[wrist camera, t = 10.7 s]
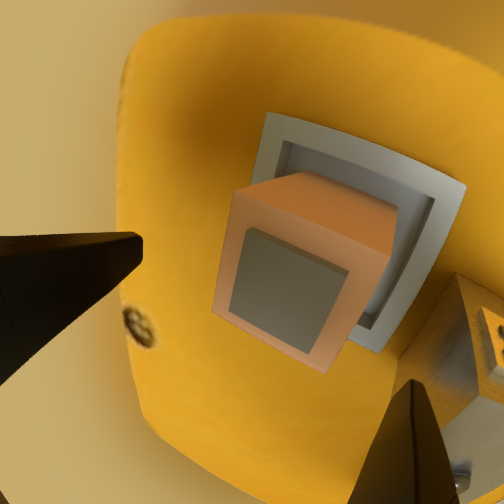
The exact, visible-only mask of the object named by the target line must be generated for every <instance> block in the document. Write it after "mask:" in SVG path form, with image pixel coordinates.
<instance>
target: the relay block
mask: <svg viewBox="0 0 504 504" xmlns="http://www.w3.org/2000/svg"><path fill="white" fill-rule="evenodd" d="M397 214H398V206H396V205H393V204H391V203H389V202H387V201H384V200H382V199H380V198H378V197H375V196H373V195H371V194H368V193H366V192H363V191H361V190H359V189H356V188H354V187H351V186H349V185H346V184H344V183H341V182H339V181H336V180H333V179H331V178H328V177H325V176H323V175H320V174H317V173H315V172H312V171H309V170H307V171H303V172H299V173H295V174H291V175H288V176H284V177H280V178H276V179H272V180H269V181H265V182H261V183H258V184H254V185H251V186H247V187H244V188H240V189H237V190H234V193H233V198H232V203H231V208H230V213H229V218H228V223H227V229H226V234H225V239H224V245H223V250H222V255H221V261H220V266H219V272H218V278H217V283H216V289H215V295H214V301H213V307H212V312H213V313H215V314H216V315H218V316H220V317H221V318H223V319H225V320H226V321H228V322H230V323H231V324H233V325H235V326H236V327H238V328H240V329H242V330H243V331H245V332H247V333H249V334H250V335H252V336H254V337H256V338H257V339H259V340H261V341H263V342H264V343H266V344H268V345H270V346H272V347H273V348H275V349H277V350H279V351H281V352H283V353H285V354H286V355H288V356H290V357H292V358H294V359H296V360H298V361H300V362H302V363H303V364H305V365H307V366H309V367H311V368H313V369H315V370H317V371H319V372H321V373H323V374H326V373H327V371H328V370H329V368H330V367H331V365H332V363H333V362H334V360H335V359H336V357H337V356H338V354H339V352H340V351H341V349H342V347H343V346H344V344H345V342H346V341H347V339H348V337H349V336H350V334H351V332H352V331H353V329H354V327H355V325H356V324H357V322H358V320H359V318H360V316H361V315H362V313H363V311H364V309H365V307H366V305H367V304H368V302H369V300H370V298H371V296H372V294H373V292H374V290H375V288H376V286H377V284H378V282H379V280H380V278H381V276H382V274H383V272H384V270H385V268H386V266H387V264H388V262H389V260H390V258H391V253H392V247H393V241H394V235H395V228H396V222H397Z"/></svg>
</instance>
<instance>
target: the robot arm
mask: <svg viewBox="0 0 504 504" xmlns="http://www.w3.org/2000/svg"><path fill="white" fill-rule="evenodd" d="M142 259H143V238H142V237H141V236H140V235H138V234H137V233H135V232H102V233H73V234H50V235H38V236H37V235H27V236H0V386H1V385H2V384H3V383H4V382H5V381H6V380H7V379H8V378H9V377H11V376H12V375H13V374H14V373H15V372H16V371H17V370H18V369H19V368H20V367H21V366H22V365H24V364H25V363H26V362H27V361H28V360H29V358H31V357H32V356H33V355H35V354H36V353H37V352H38V351H39V350H40V349H41V348H42V347H44V346H45V345H46V344H47V343H48V342H49V341H51V340H52V339H53V338H54V337H55V336H57V335H58V334H59V333H60V332H61V331H62V330H64V329H65V328H66V327H67V326H68V325H70V324H71V323H72V322H73V321H74V320H76V319H77V318H78V317H79V316H81V315H82V314H83V313H84V312H85V311H87V310H88V309H89V308H90V307H92V306H93V305H94V304H95V303H97V302H98V301H99V300H100V299H102V298H103V297H104V296H106V295H107V294H108V293H109V292H110V291H112V290H113V289H114V288H115V287H116V286H117V285H118V284H119V283H120V282H121V281H122V280H123V279H124V278H126V277H127V276H128V275H129V274H130V273H131V272H132V271H133V270H134V269H135V268H136V267H137V266H139V265H140V263H141V262H142ZM456 492H457V488H456V484H455V480H454V476H453V472H452V468H451V464H450V461H449V457H448V454H447V450H446V447H445V444H444V440H443V437H442V434H441V431H440V428H439V425H438V422H437V419H436V416H435V413H434V411H433V408H432V405H431V402H430V400H429V397H428V394H427V392H426V389H425V386H424V384H423V383H421V382H419V381H417V380H414V379H409V380H408V381H407V382H406V383H405V384H404V385H403V386H402V387H401V388H400V390H399V391H398V392H397V393H396V394H395V395H394V396H393V398H392V399H391V401H390V403H389V405H388V408H387V410H386V413H385V415H384V418H383V420H382V422H381V425H380V427H379V429H378V431H377V434H376V436H375V438H374V440H373V442H372V445H371V447H370V449H369V452H368V454H367V457H366V460H365V462H364V465H363V467H362V470H361V473H360V475H359V478H358V480H357V482H356V485H355V487H354V489H353V492H352V494H351V496H350V498H349V501H348V503H347V504H460V501H459V497H458V493H456ZM0 504H9V503H8V501H7V500H6V498H5V497H4V495H3V494H2V492H1V491H0Z"/></svg>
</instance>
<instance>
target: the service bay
mask: <svg viewBox="0 0 504 504" xmlns="http://www.w3.org/2000/svg"><path fill="white" fill-rule="evenodd" d="M307 170H309V171H312V172H315V173H317V174H320V175H323V176H325V177H328V178H331V179H333V180H336V181H339V182H341V183H344V184H346V185H349V186H351V187H354V188H356V189H359V190H361V191H363V192H366V193H368V194H371V195H373V196H375V197H378V198H380V199H382V200H384V201H387V202H389V203H391V204H393V205H396V206H398V214H397V222H396V228H395V235H394V241H393V247H392V253H391V258H390V260H389V262H388V264H387V266H386V268H385V270H384V272H383V274H382V276H381V278H380V280H379V282H378V284H377V286H376V288H375V290H374V292H373V294H372V296H371V298H370V300H369V302H368V304H367V305H366V307H365V309H364V311H363V313H362V315H361V316H360V318H359V320H358V322H357V324H356V325H355V327H354V329H353V331H352V332H351V334H350V336H349V337H348V339H349V340H351V341H353V342H355V343H357V344H359V345H361V346H363V347H365V348H367V349H369V350H371V351H373V352H376V353H378V354H379V353H380V352H381V350H382V349H383V348H384V346H385V345H386V343H387V342H388V340H389V339H390V337H391V336H392V334H393V333H394V331H395V330H396V328H397V327H398V325H399V324H400V322H401V320H402V319H403V317H404V316H405V314H406V312H407V311H408V309H409V307H410V306H411V304H412V302H413V301H414V299H415V297H416V296H417V294H418V292H419V290H420V289H421V287H422V285H423V283H424V281H425V279H426V278H427V276H428V274H429V272H430V270H431V268H432V266H433V264H434V262H435V260H436V258H437V256H438V254H439V252H440V250H441V248H442V246H443V244H444V242H445V240H446V237H447V235H448V233H449V231H450V228H451V226H452V224H453V221H454V219H455V217H456V214H457V212H458V209H459V207H460V204H461V202H462V199H463V196H464V194H465V191H466V188H467V186H466V185H465V184H463V183H462V182H460V181H458V180H456V179H455V178H453V177H451V176H449V175H447V174H445V173H443V172H441V171H439V170H437V169H434V168H432V167H430V166H428V165H426V164H424V163H422V162H419V161H417V160H415V159H413V158H410V157H408V156H406V155H403V154H401V153H399V152H396V151H394V150H391V149H389V148H386V147H384V146H381V145H379V144H376V143H373V142H371V141H368V140H365V139H362V138H360V137H357V136H354V135H351V134H348V133H345V132H342V131H339V130H336V129H333V128H330V127H326V126H323V125H320V124H316V123H313V122H309V121H306V120H302V119H298V118H295V117H291V116H287V115H283V114H278V113H273V112H268V111H267V114H266V118H265V122H264V126H263V131H262V135H261V139H260V144H259V148H258V153H257V157H256V161H255V166H254V170H253V175H252V179H251V184H250V186H251V185H254V184H258V183H261V182H265V181H269V180H272V179H276V178H280V177H284V176H288V175H291V174H295V173H299V172H303V171H307Z"/></svg>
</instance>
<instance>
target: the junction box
mask: <svg viewBox="0 0 504 504" xmlns="http://www.w3.org/2000/svg"><path fill="white" fill-rule="evenodd" d="M409 379H414V380H417V381H419V382H421V383H423V384H424V386H425V389H426V392H427V394H428V397H429V400H430V402H431V405H432V408H433V411H434V413H435V416H436V419H437V422H438V425H439V428H440V431H441V434H442V437H443V440H444V444H445V447H446V450H447V454H448V457H449V461H450V464H451V468H452V472H453V476H454V480H455V484H456V488H457V492H456V493H458V497H459V501H460V503H463V504H467V503H469V502H471V501H473V500H475V499H477V498H479V497H481V496H483V495H485V494H487V493H488V492H490V491H492V490H494V489H495V488H497V487H499V486H500V485H502V484H504V299H502V298H500V297H499V296H497V295H495V294H493V293H492V292H490V291H488V290H487V289H485V288H483V287H481V286H479V285H478V284H476V283H474V282H472V281H470V280H469V279H467V278H465V277H463V276H461V275H459V274H458V273H456V272H455V274H454V276H453V278H452V280H451V281H450V283H449V285H448V287H447V288H446V290H445V292H444V293H443V295H442V297H441V299H440V300H439V302H438V303H437V305H436V307H435V308H434V310H433V311H432V313H431V315H430V316H429V318H428V319H427V321H426V322H425V324H424V325H423V327H422V328H421V330H420V331H419V333H418V334H417V335H416V337H415V338H414V340H413V341H412V343H411V344H410V345H409V347H408V348H407V349H406V351H405V352H404V353H403V355H402V356H401V357H400V359H399V360H398V365H397V371H396V376H395V381H394V386H393V391H392V396H391V399H392V398H393V396H394V395H395V394H396V393H397V392H398V391H399V390H400V388H401V387H402V386H403V385H404V384H405V383H406V382H407V381H408V380H409ZM390 401H391V400H390Z"/></svg>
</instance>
